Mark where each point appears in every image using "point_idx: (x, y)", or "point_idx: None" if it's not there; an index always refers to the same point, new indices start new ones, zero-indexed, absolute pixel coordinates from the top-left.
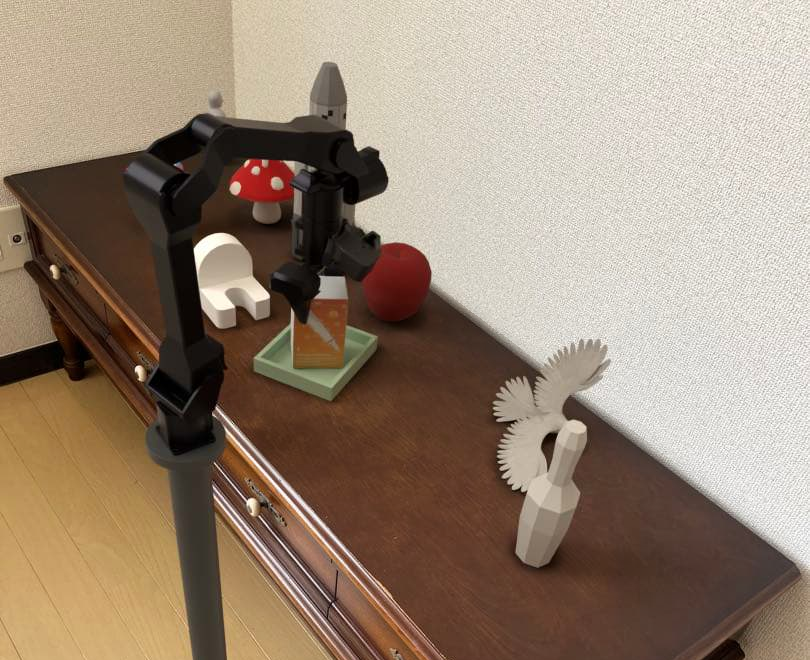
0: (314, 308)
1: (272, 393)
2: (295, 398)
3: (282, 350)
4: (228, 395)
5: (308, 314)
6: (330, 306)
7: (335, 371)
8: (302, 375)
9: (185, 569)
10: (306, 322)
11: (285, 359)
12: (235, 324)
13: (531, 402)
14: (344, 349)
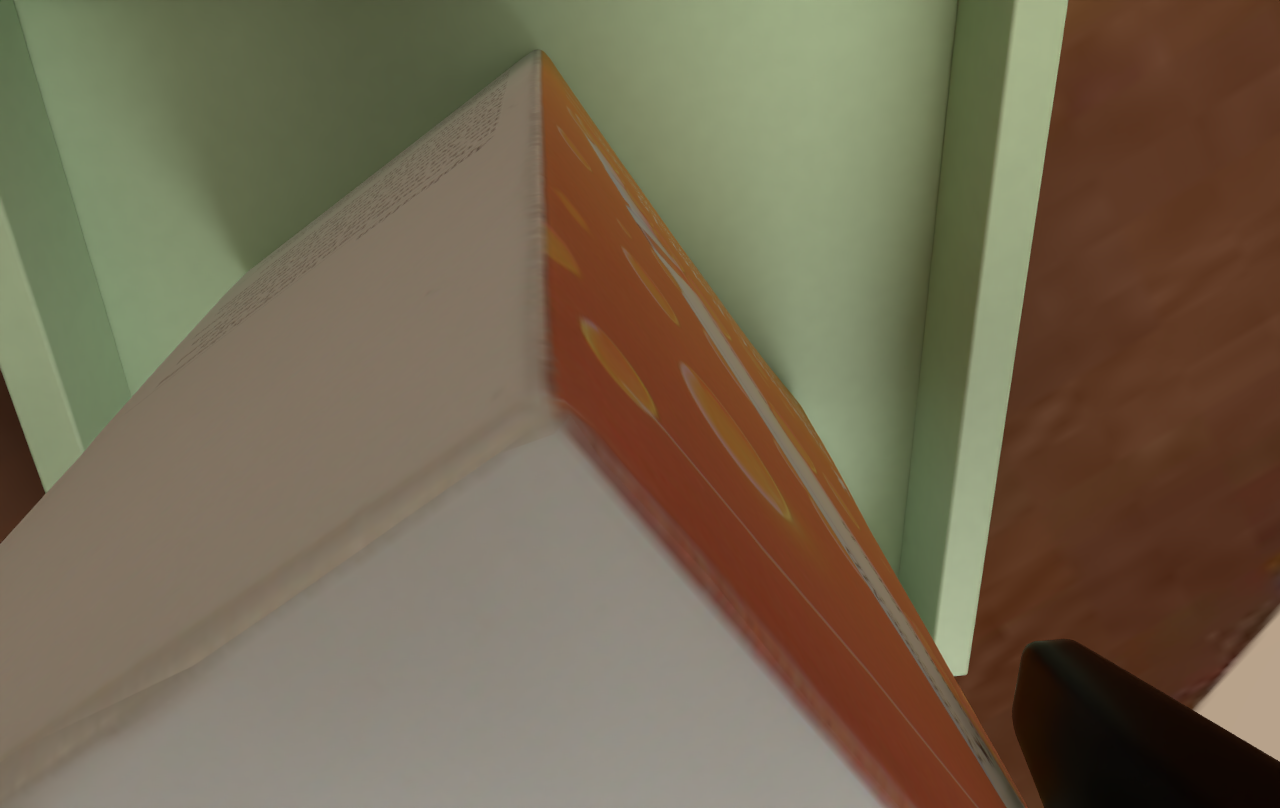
0: (999, 803)
1: (1089, 366)
2: (1079, 192)
3: None
4: (1214, 568)
5: (1196, 768)
6: (842, 628)
7: (620, 86)
8: (1014, 258)
9: None
10: (1083, 658)
11: None
12: None
13: None
14: (531, 76)
